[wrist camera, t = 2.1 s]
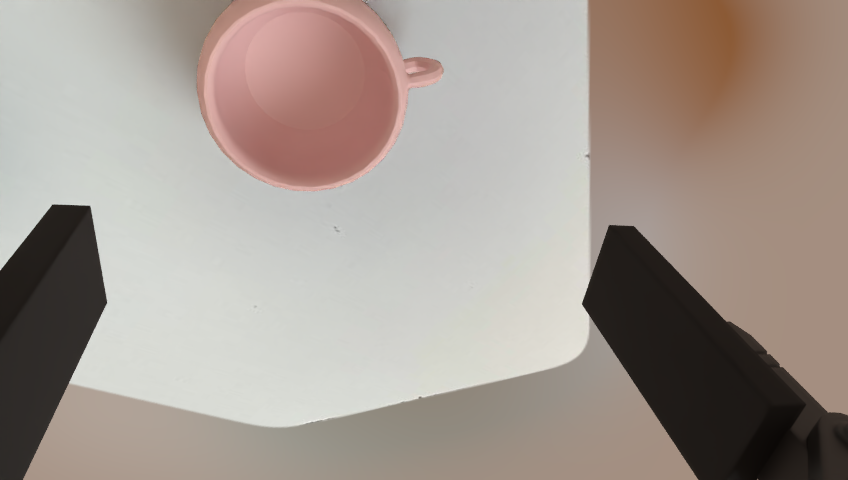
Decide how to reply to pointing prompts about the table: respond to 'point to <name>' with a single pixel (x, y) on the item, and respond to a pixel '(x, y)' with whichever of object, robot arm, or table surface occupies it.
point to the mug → (305, 89)
